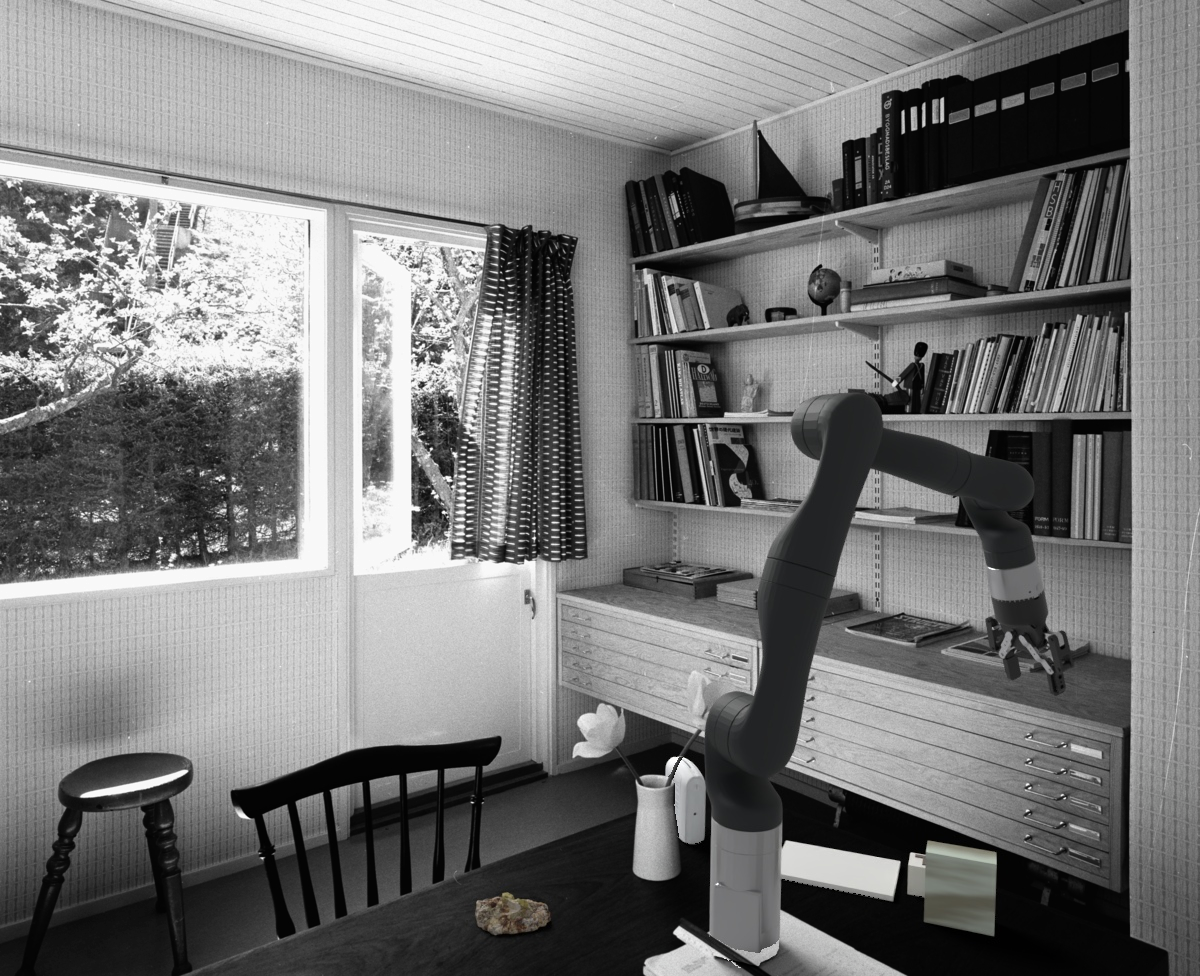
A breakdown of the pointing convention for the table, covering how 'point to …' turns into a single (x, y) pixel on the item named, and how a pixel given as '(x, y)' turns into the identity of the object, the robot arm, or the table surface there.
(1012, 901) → the table surface
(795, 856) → the mat
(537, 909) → the mineral rock
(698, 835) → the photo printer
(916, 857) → the letter cube
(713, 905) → the robot arm
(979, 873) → the pale green rectangular block
